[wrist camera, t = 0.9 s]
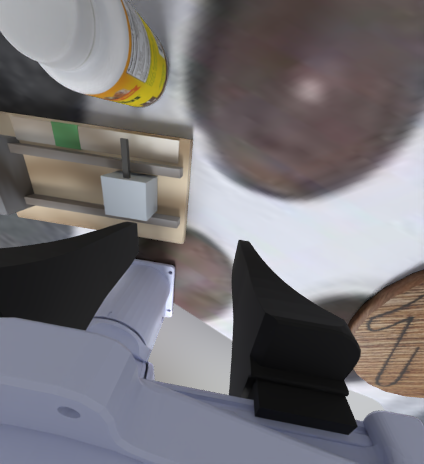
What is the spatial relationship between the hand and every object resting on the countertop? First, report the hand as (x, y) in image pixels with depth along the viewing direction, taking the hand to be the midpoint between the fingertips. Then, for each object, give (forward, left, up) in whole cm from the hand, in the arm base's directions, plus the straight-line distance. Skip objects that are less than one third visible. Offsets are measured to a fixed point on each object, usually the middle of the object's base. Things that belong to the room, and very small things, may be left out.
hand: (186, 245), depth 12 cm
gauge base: (0, +12, -10) cm, 16 cm away
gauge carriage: (+1, +7, -9) cm, 12 cm away
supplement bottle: (+10, +7, -11) cm, 16 cm away
